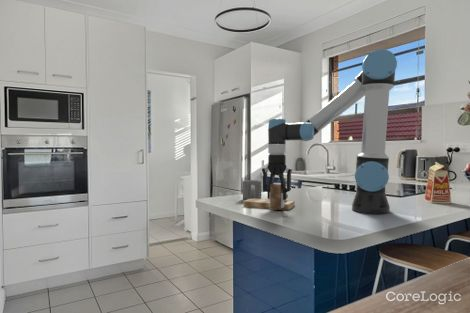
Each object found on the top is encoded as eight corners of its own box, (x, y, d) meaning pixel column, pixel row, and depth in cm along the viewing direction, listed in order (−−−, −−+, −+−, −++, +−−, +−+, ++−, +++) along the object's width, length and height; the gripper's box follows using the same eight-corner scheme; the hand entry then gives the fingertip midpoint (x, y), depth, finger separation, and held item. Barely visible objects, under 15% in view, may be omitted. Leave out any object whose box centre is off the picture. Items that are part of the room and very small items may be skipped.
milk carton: (423, 200, 166) (424, 161, 165) (443, 200, 165) (443, 161, 164) (432, 203, 157) (432, 162, 156) (452, 203, 156) (453, 162, 155)
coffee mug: (244, 198, 177) (244, 180, 177) (262, 198, 175) (262, 180, 175) (240, 202, 164) (239, 182, 164) (259, 202, 162) (259, 182, 162)
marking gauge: (289, 203, 154) (289, 180, 153) (280, 209, 139) (280, 184, 139) (280, 203, 156) (280, 180, 155) (270, 209, 141) (270, 184, 141)
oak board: (294, 206, 152) (294, 200, 152) (289, 210, 143) (289, 204, 143) (251, 203, 161) (251, 197, 161) (243, 206, 152) (243, 201, 152)
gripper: (298, 154, 141) (298, 206, 142) (260, 153, 149) (261, 204, 149) (294, 154, 135) (294, 209, 135) (255, 154, 142) (255, 206, 143)
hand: (276, 206), depth 142 cm, fingers closed on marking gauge, 4 cm apart
